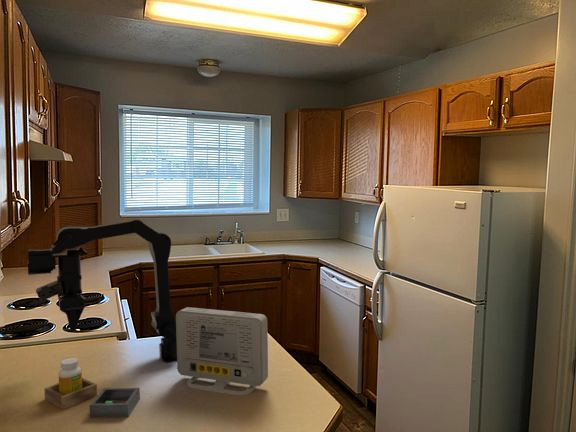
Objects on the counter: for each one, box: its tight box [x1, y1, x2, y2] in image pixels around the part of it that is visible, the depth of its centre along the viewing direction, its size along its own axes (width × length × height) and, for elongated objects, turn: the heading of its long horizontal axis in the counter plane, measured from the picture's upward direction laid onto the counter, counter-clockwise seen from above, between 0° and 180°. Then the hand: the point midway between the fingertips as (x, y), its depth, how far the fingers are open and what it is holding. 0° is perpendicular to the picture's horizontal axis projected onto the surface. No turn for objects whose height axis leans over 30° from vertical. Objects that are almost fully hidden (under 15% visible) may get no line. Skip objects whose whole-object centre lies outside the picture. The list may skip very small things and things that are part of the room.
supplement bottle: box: [58, 357, 83, 395], centre depth 120 cm, size 5×5×10 cm
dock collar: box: [89, 387, 141, 419], centre depth 114 cm, size 9×9×4 cm
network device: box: [175, 306, 269, 396], centre depth 126 cm, size 26×9×20 cm, turn 71°
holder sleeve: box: [43, 377, 98, 410], centre depth 120 cm, size 9×9×3 cm
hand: (71, 326), depth 133 cm, fingers open, 9 cm apart
